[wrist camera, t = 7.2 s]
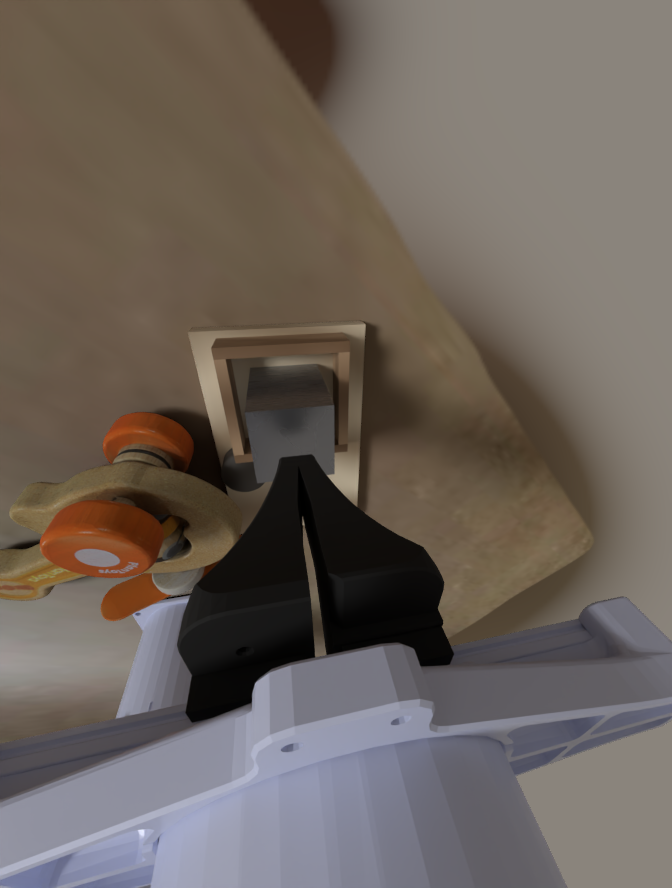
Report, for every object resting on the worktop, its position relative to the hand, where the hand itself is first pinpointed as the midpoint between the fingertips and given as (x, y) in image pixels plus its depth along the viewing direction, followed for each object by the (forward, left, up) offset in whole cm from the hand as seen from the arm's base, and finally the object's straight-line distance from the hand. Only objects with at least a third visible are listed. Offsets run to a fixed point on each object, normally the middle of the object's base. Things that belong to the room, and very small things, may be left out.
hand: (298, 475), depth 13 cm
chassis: (-4, 0, -10) cm, 10 cm away
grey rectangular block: (0, 0, -9) cm, 9 cm away
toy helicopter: (-4, +16, -6) cm, 17 cm away
